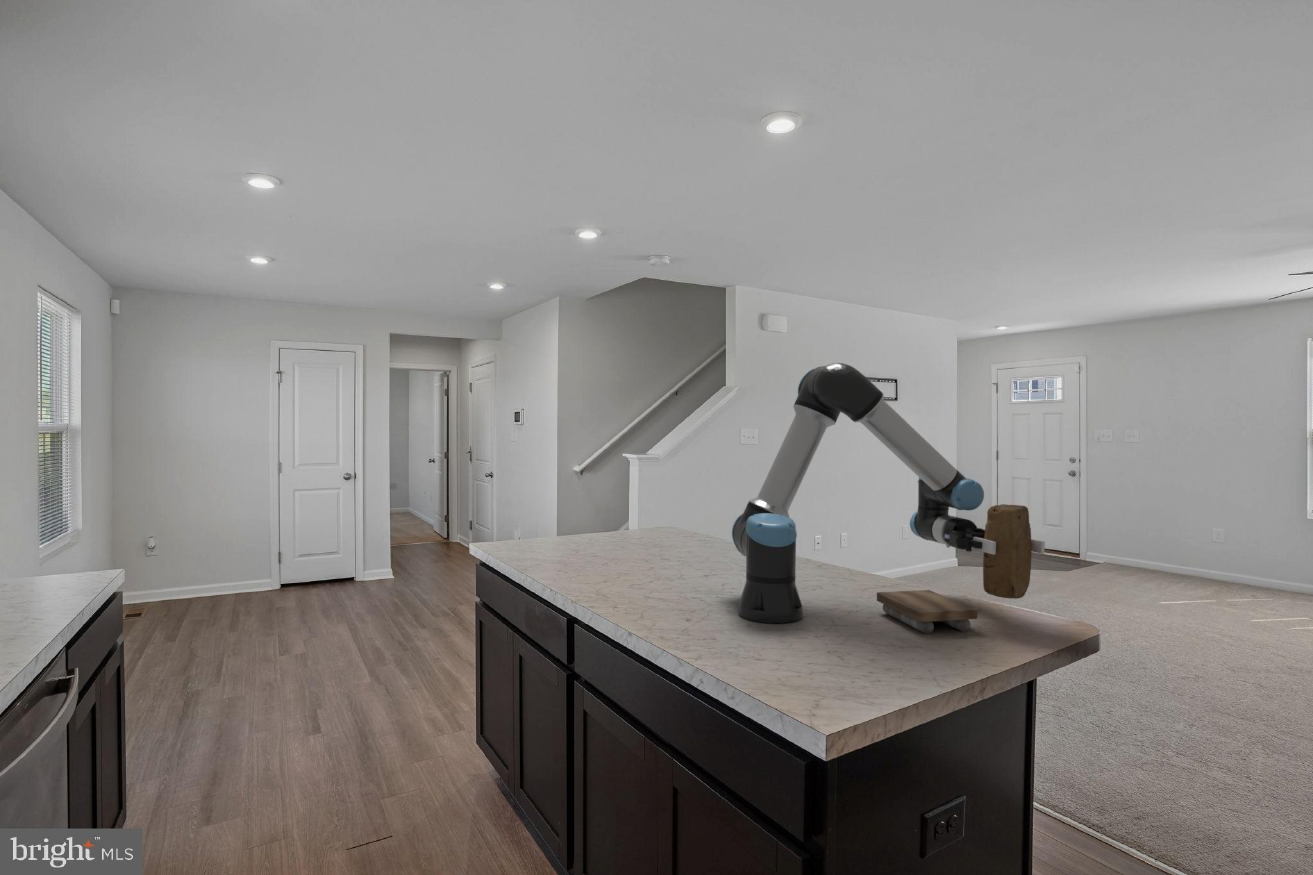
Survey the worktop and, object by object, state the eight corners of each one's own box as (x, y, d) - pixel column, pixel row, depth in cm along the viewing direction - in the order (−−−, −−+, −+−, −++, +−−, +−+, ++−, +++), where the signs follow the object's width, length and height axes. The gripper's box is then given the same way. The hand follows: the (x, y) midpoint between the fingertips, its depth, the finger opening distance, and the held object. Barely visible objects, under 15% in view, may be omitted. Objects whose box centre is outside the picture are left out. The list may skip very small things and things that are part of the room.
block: (1013, 601, 143) (1017, 508, 143) (978, 594, 149) (981, 504, 149) (1034, 594, 150) (1037, 505, 150) (1000, 587, 156) (1003, 502, 156)
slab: (919, 635, 145) (919, 612, 144) (876, 612, 162) (876, 592, 162) (977, 632, 147) (977, 609, 147) (928, 610, 165) (929, 590, 165)
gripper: (997, 546, 170) (1065, 564, 149) (912, 547, 165) (969, 565, 144) (998, 517, 170) (1066, 530, 148) (913, 517, 165) (970, 530, 144)
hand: (1018, 547), depth 146 cm, fingers closed on block, 11 cm apart
